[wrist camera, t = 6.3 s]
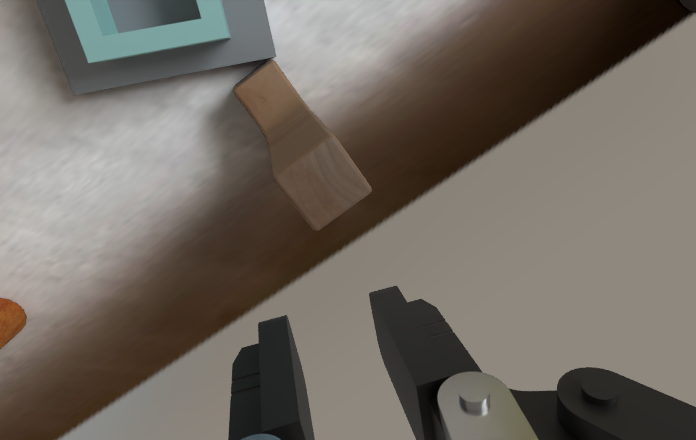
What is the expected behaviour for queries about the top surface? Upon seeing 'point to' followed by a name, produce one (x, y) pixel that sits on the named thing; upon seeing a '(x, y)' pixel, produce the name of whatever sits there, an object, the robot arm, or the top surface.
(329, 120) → the top surface
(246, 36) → the cradle jig
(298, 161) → the wooden block
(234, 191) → the top surface
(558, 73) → the top surface
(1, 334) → the kendama
